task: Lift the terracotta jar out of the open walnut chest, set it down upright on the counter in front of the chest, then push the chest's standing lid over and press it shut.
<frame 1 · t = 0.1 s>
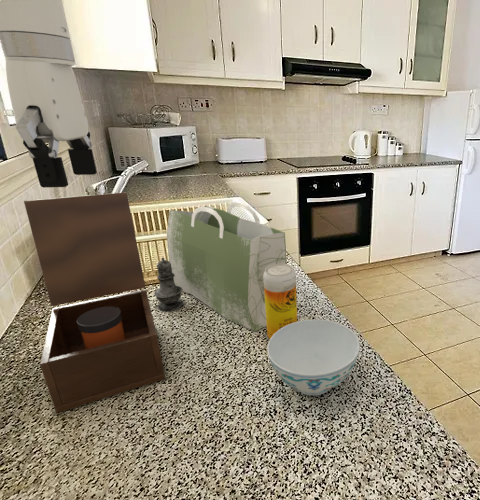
hand: (71, 180, 56), 33 cm above the countertop, tool pointing down, fingers open, 9 cm apart
chinaware: (314, 382, 64), on the countertop
grey chess piece: (170, 305, 86), on the countertop
jar: (111, 365, 65), point 1 cm above the countertop, touching chest
chest: (112, 363, 67), on the countertop
chest lid: (90, 247, 68), point 19 cm above the countertop, hinge at 100.0°
grocery bag: (232, 297, 91), on the countertop
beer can: (282, 336, 76), on the countertop
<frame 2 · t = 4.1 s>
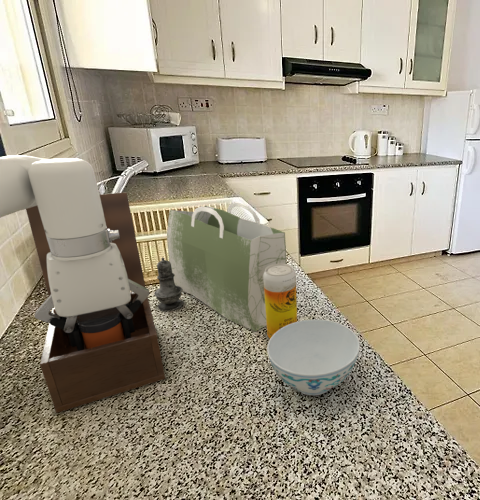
hand: (105, 341, 63), 6 cm above the countertop, tool pointing down, fingers closed on jar, 6 cm apart
jar: (111, 365, 65), point 1 cm above the countertop, touching chest, gripper
everything else where it was.
when the fingers open (5 cm above the countertop, at t = 11.8 s): jar stays where it is, on the countertop.
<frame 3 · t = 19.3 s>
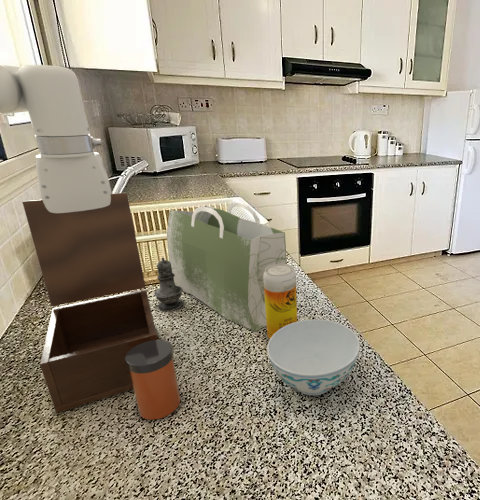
hand: (91, 246, 70), 18 cm above the countertop, tool pointing down, fingers closed
jar: (160, 405, 58), on the countertop
chest lid: (89, 248, 68), point 19 cm above the countertop, hinge at 96.2°, touching gripper
everything else where it was.
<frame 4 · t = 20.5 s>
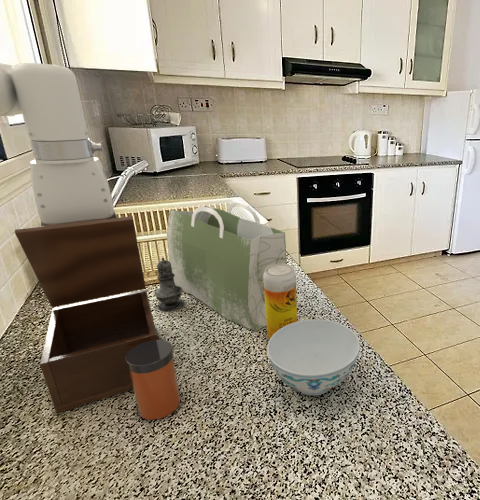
hand: (90, 258, 65), 18 cm above the countertop, tool pointing down, fingers closed
chest lid: (90, 263, 64), point 18 cm above the countertop, hinge at 62.5°
everything else where it was.
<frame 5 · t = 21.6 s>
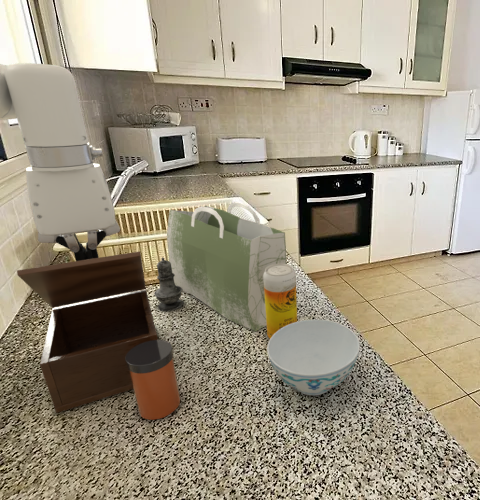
hand: (90, 270, 61), 18 cm above the countertop, tool pointing down, fingers closed
chest lid: (93, 281, 63), point 16 cm above the countertop, hinge at 40.8°, touching gripper
everything else where it was.
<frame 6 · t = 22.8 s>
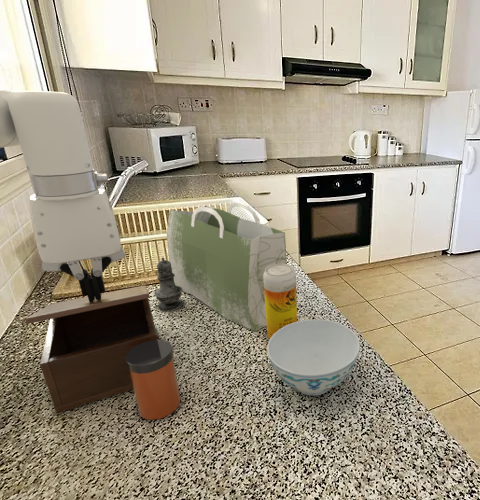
hand: (95, 297, 60), 14 cm above the countertop, tool pointing down, fingers closed
chest lid: (97, 301, 62), point 13 cm above the countertop, hinge at 20.0°
everything else where it was.
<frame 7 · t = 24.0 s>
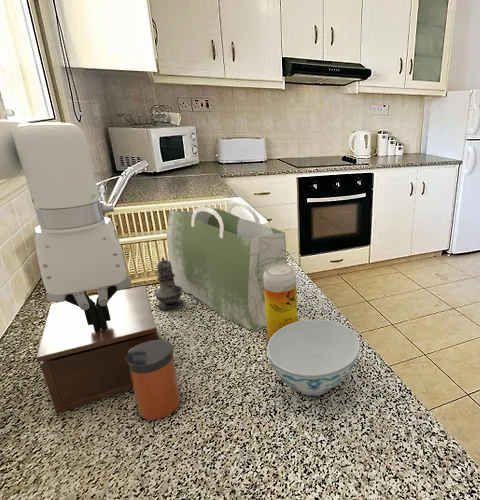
hand: (100, 325, 59), 11 cm above the countertop, tool pointing down, fingers closed
chest lid: (100, 317, 63), point 10 cm above the countertop, hinge at 2.4°, touching gripper
everything else where it was.
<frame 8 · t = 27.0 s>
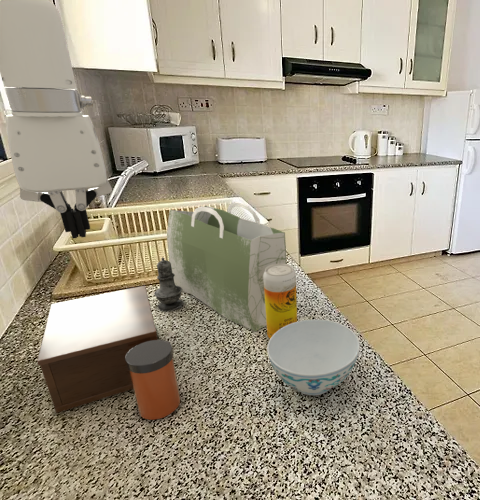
hand: (79, 234, 56), 25 cm above the countertop, tool pointing down, fingers closed
chest lid: (101, 318, 63), point 10 cm above the countertop, hinge at 0.6°
everything else where it was.
at the end: jar inside the target area (0.0 cm from its centre), on the countertop; jar tilted 0°; chest lid at +1° (first picture: +100°) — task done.
